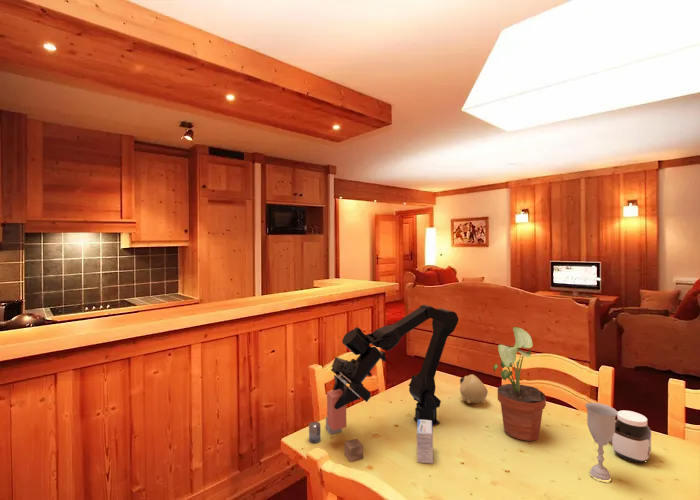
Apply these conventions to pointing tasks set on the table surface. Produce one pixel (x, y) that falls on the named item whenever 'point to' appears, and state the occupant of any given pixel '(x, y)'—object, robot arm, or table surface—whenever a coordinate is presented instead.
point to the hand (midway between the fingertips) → (332, 404)
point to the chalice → (601, 433)
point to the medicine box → (424, 441)
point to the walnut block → (353, 450)
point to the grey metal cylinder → (314, 432)
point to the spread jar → (632, 436)
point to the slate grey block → (331, 429)
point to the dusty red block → (335, 411)
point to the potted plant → (519, 393)
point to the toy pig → (473, 389)
